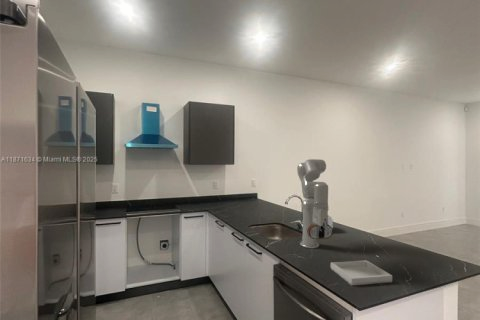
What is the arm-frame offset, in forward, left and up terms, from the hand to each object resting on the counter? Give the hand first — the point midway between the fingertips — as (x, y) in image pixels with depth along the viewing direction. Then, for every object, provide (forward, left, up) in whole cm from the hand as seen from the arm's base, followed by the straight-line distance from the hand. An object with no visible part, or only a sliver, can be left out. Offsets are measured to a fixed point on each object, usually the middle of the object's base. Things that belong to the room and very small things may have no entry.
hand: (320, 236), depth 139 cm
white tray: (+18, +13, -15) cm, 26 cm away
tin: (0, 0, -1) cm, 1 cm away
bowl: (-61, +32, -15) cm, 71 cm away
